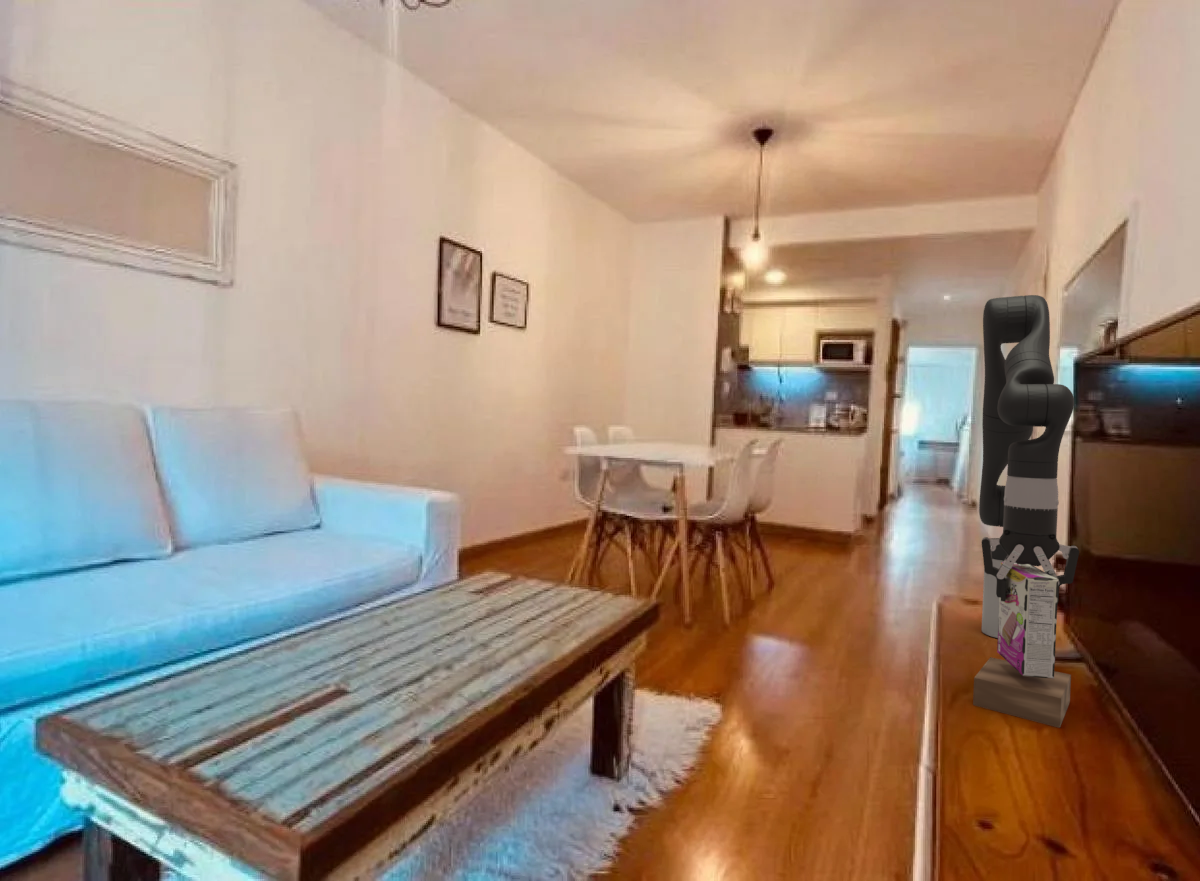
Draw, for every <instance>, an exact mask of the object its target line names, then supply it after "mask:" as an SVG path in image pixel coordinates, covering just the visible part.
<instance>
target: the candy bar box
mask: <svg viewBox="0 0 1200 881" xmlns="http://www.w3.org/2000/svg"><path fill="white" fill-rule="evenodd" d="M1002 563H1003V562H1001V563H1000V564H1001V565H1002ZM1005 578H1007V579H1006V601H1005V602H1004V601H1001V598H1000V597H999V623H998V638H997V647H996V648H997V650H996V652H997V654H999V656H1001V657H1002V658H1003V660H1006V661H1007V662H1009V663H1010V664H1011V665H1012V666H1013V667H1014V668H1015V669H1016V670H1017V671H1018V672H1019V673H1020V674H1022V675H1023V676H1027V677H1037V678H1051V679H1054V671H1055V664H1056V663H1055V662H1056V645H1057V644H1056V639H1057V624H1058V623H1057V620H1058V604H1057V599H1058V581H1059V579H1057V578H1055V577H1053V576H1051V575H1049V574H1046V573H1045V571H1044V570H1042V569H1040V568H1038V567H1037V566H1032V565H1029V564H1023V565H1021V564H1017V563H1014V565H1013V566H1012V568H1011V569H1010V570H1009V572H1008V573H1007V575H1006V576H1005Z"/></svg>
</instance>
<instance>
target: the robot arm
mask: <svg viewBox="0 0 1200 881" xmlns="http://www.w3.org/2000/svg"><path fill="white" fill-rule="evenodd" d="M983 308H984V309H983V315H982V329H983V330H982V333H983V336H982V338H983V355H984V356H983V358H984V387H983V388H984V389H983V401H982V402H983V403H982V404H983V405H982V468H981V478H980V479H981V480H980V489H979V500H978V512H979V519H980V521H981V522H982V524H984V525H986V526H989V527H990V526H991V527H999V528H1002V534H1001V536H1000V537H997V538H996V537H994V538H989V537H986V536H984V537H983V538H982V539H981V550H982V557H983V558H982V560H983V587H982V588H983V590H982V614H981V632H982V633H983V634H985V635H986V636H990V637H992V638H996V639H998V623H999V597H1000V598H1001V601H1004V602H1005V601H1006V579H1007V578H1005V576H1006V575H1007V573H1008V572H1009V570H1010V569H1011V568H1012V566H1013V565H1014V563H1017V564H1021V565H1023V564H1029V565H1032V566H1034V567H1041V568H1042V569H1043V570H1042V571H1044V572H1045V573H1046V574H1049V575H1051V576H1053V577H1055V578H1057V579H1059V581H1058V599H1057V605H1058V604H1059V598H1060V587H1061V586H1063V585H1066V584H1068V585H1071V584H1073V582H1074V579H1075V574H1076V570H1077V565H1078V560H1079V556H1080V550H1079V548H1078V547H1077V546H1076V545H1071V546H1070V545H1065V544H1060V543H1059V541H1058V538H1057V532H1058V531H1057V529H1058V509H1059V502H1060V500H1059V487H1058V470H1059V469H1058V468H1059V467H1058V465H1059V453H1060V448H1061V444H1062V441H1063V438H1064V437H1063V436H1064V435H1065V431H1066V429H1067V426H1068V424H1069V422H1070V419H1071V417H1072V414H1073V411H1074V408H1075V397H1074V394H1073V393H1072V391H1071V389H1070V388H1069V387H1067V386H1066V385H1064V384H1059V383H1055V376H1054V371H1053V366H1052V362H1051V359H1050V357H1051V356H1050V342H1051V341H1050V340H1051V324H1050V323H1051V319H1050V309H1049V305H1048V301H1046V298H1044V297H1043V296H1041V295H1039V294H1037V295H1035V294H1027V295H1016V296H1005V297H996V298H995V297H994V298H990V299H988V300H987V301H986V303H985V305H984V307H983ZM1003 344H1016V345H1014V346H1013V347H1012V348H1011V350H1010V351H1009V353H1008V354H1007V356H1006V358H1005V357H1004V353H1003V351H1002V345H1003ZM1034 427H1036V428H1037V427H1039V428H1040V427H1041V428H1042V427H1044V428H1045V429H1044V431H1043V433H1042V434H1041V435H1039V436H1038V437H1036V438H1032V439H1030V438H1031V437H1032V435H1033V432H1034ZM1006 467H1007V472H1006V475H1007V476H1006V481H1005V485H999V484H998V481H999V480H1000V477H1001V475H1002V473H1003V472H1004V470H1005V469H1006ZM1058 551H1060V552H1061V554H1062V557H1063V559H1065V560H1066V562H1065V566H1064V571H1063V574H1060V575H1058V574H1057V573H1056V571H1055V569H1054V566H1053V565H1052V563H1051V561H1050V559H1052V558H1053V557H1054V556H1055V554H1057V553H1058ZM1001 562H1003V563H1002V565H1001V564H1000V563H1001Z"/></svg>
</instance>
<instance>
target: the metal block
mask: <svg viewBox="0 0 1200 881" xmlns="http://www.w3.org/2000/svg"><path fill="white" fill-rule="evenodd" d="M1071 681H1072V674H1069V673H1065V672H1059V671H1056V670H1054V679H1051V678H1037V677H1027V676H1023V675H1022V674H1020V673H1019V672H1018V671H1017V670H1016V669H1015V668H1014V667H1013V666H1012V665H1011V664H1010V663H1009V662H1007V661H1006V660H1005V659H1001V658H996V657H989V658H988V660H987V661H986V662H985V663H984V664H983V666H982V667H981V668H980V670H979V671H978V672H977V673H976V675H975V676H974V677H973V701H972V705H973V706H975V707H979V708H984V709H986V710H991V711H994V712H998V713H1002V714H1006V715H1010V716H1014V717H1017V718H1021V719H1024V720H1028V721H1033V722H1036V723H1039V724H1044V725H1046V726H1051V727H1054V728H1059V729H1061V726H1062V723H1063V721H1064V719H1065V716H1066V713H1067V711H1068V708H1069V706H1070V702H1071V684H1072V683H1071Z"/></svg>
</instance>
